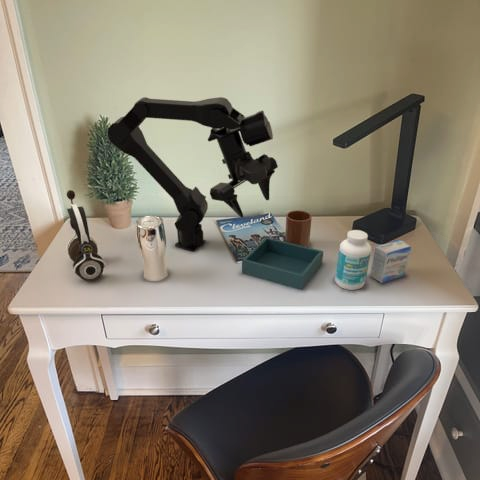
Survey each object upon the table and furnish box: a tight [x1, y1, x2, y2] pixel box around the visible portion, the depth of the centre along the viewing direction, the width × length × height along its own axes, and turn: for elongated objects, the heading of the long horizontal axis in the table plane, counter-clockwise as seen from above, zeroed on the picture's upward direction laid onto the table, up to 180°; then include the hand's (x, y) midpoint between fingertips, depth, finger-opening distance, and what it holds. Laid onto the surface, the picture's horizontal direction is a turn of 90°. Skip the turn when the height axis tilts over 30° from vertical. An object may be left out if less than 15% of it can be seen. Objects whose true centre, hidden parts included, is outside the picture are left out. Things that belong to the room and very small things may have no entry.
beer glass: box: [134, 215, 169, 282], centre depth 122 cm, size 7×7×15 cm
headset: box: [66, 189, 106, 282], centre depth 123 cm, size 17×8×20 cm, turn 24°
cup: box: [284, 209, 313, 248], centre depth 137 cm, size 7×7×9 cm
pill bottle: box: [334, 229, 372, 291], centre depth 120 cm, size 8×7×14 cm
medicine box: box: [369, 239, 412, 284], centre depth 124 cm, size 8×4×9 cm, turn 117°
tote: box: [241, 237, 324, 291], centre depth 128 cm, size 17×14×4 cm
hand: (254, 208), depth 131 cm, fingers open, 9 cm apart
